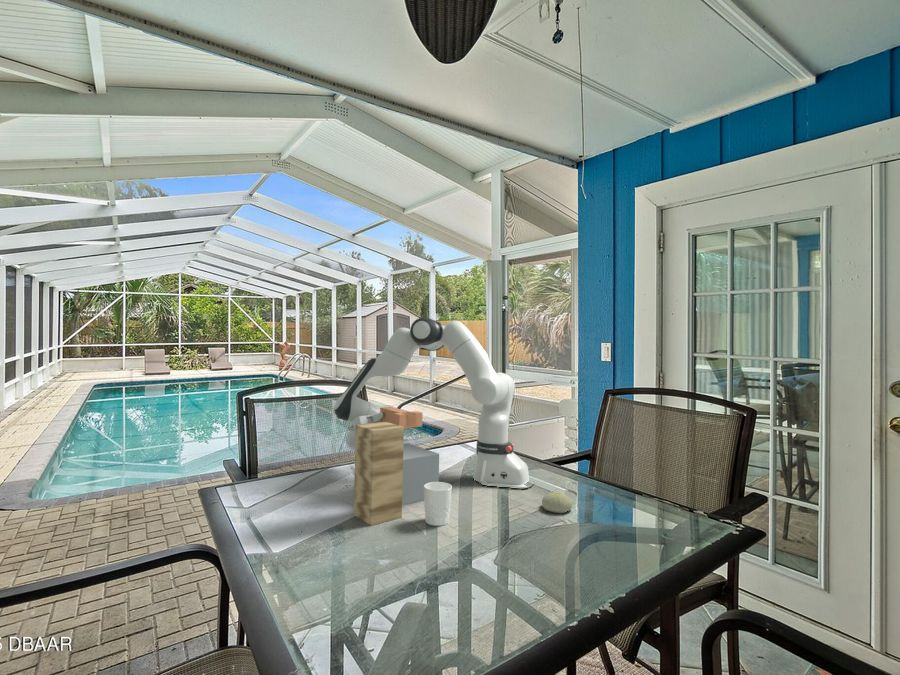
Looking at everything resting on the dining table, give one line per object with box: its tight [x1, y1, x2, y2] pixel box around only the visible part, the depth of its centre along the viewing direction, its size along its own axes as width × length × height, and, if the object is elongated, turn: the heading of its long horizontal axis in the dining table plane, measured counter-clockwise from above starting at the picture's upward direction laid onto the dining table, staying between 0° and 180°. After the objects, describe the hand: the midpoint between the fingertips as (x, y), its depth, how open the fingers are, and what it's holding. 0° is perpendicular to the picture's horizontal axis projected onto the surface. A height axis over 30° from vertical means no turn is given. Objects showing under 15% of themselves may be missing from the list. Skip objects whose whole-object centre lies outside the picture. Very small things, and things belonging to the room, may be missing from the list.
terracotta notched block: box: [379, 406, 424, 429], centre depth 160 cm, size 16×9×4 cm, turn 39°
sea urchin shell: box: [541, 491, 573, 514], centre depth 146 cm, size 9×8×8 cm
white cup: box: [423, 481, 453, 527], centre depth 134 cm, size 8×8×10 cm
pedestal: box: [353, 422, 405, 527], centre depth 137 cm, size 10×10×26 cm
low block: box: [402, 443, 440, 507], centre depth 157 cm, size 18×15×14 cm
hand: (390, 413), depth 164 cm, fingers closed on terracotta notched block, 4 cm apart
